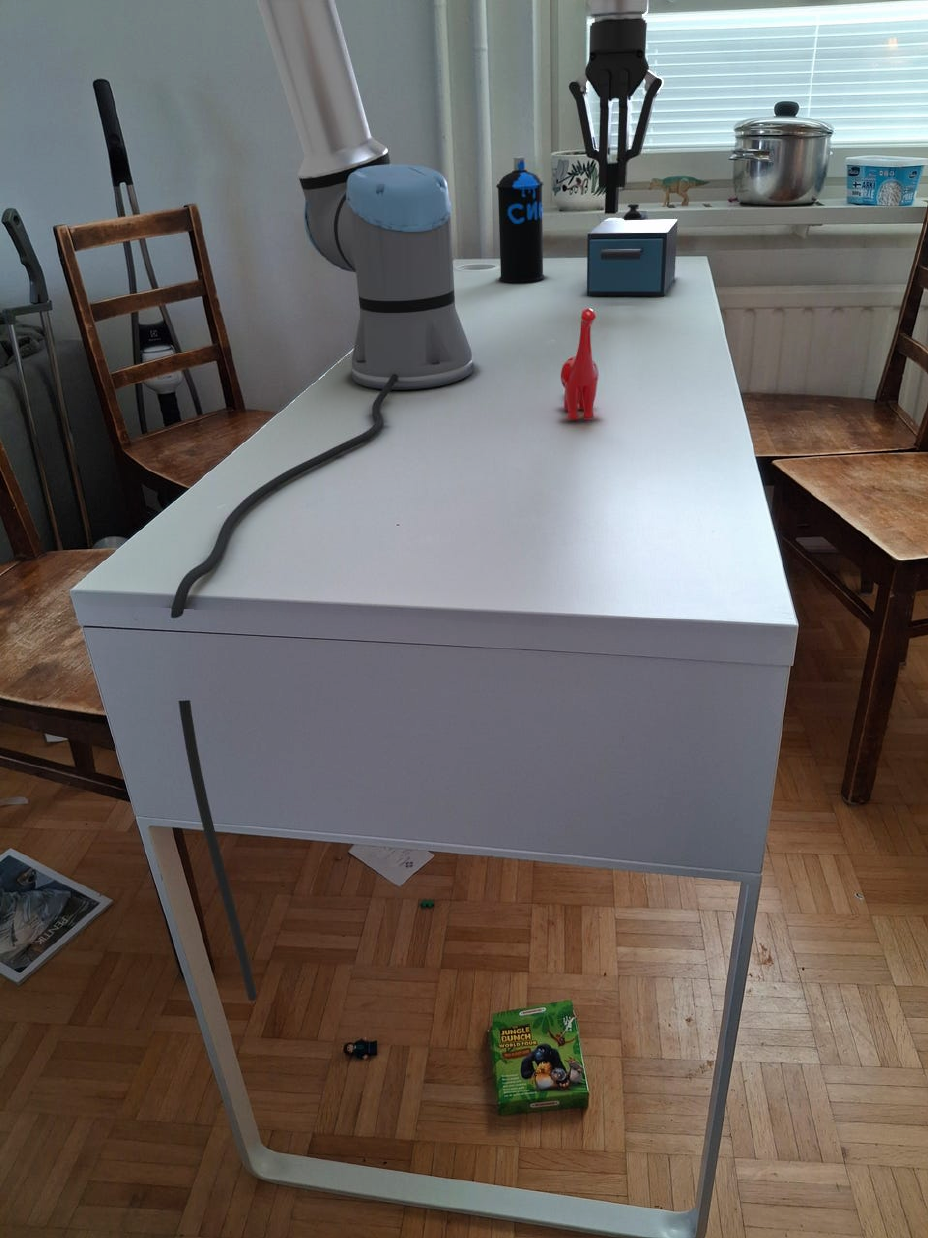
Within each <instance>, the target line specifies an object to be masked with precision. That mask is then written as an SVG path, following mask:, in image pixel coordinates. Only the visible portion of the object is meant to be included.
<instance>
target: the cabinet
mask: <svg viewBox="0 0 928 1238" xmlns="http://www.w3.org/2000/svg"><path fill="white" fill-rule="evenodd" d="M678 221H679V219H676V218H675V219H647V220H620V221H604V220H603V221H601V222H602V223H601V222H600V223H599V224H598V225H596V226H595V227H594V228H592V229H591V230H590V231H589V232H587V244H586V245H587V248H586V249H587V250H586V296H590V297H591V296H593V297H594V296H596V297H597V296H601V297H604V296H605V297H607V296H608V297H609V296H611V297H633V296H634V297H665V295H666V293H667V292H668V290H669V289H670V287H671V285H672V284H673V282H674V280H675V278H676V277H675V275H676V258H677V239H678V223H679V222H678ZM599 238H662V239H663V251H662V271H661V290H660V292H623V291H589V262H590V240H591V239H599Z"/></svg>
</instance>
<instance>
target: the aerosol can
mask: <svg viewBox="0 0 928 1238" xmlns="http://www.w3.org/2000/svg"><path fill="white" fill-rule="evenodd" d="M544 184H545V183H544V181H541V178H540V177H539V176H538V175H537V174H535V173H533V172H531V171H528V170H527V169H526V156H514V157H513V170H512V172H508V173H507V174H506V175H504V176H503V177H502V178H501V179H500V180H499V183H497V184H496V186H495V187H496V188H497V200H498V201H497V202H498V230H499V232H498V233H499V234H498V235H499V262H500V263H499V265H500V277H499V281H500V282H502V283H505V284H506V283H507V284H530V283H536V282H539V281H543V280H544V279H545V274H544V241H543V239H544V238H543V234H544V233H543V231H544V229H543V228H544V227H543V225H544V224H543V186H544Z"/></svg>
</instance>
